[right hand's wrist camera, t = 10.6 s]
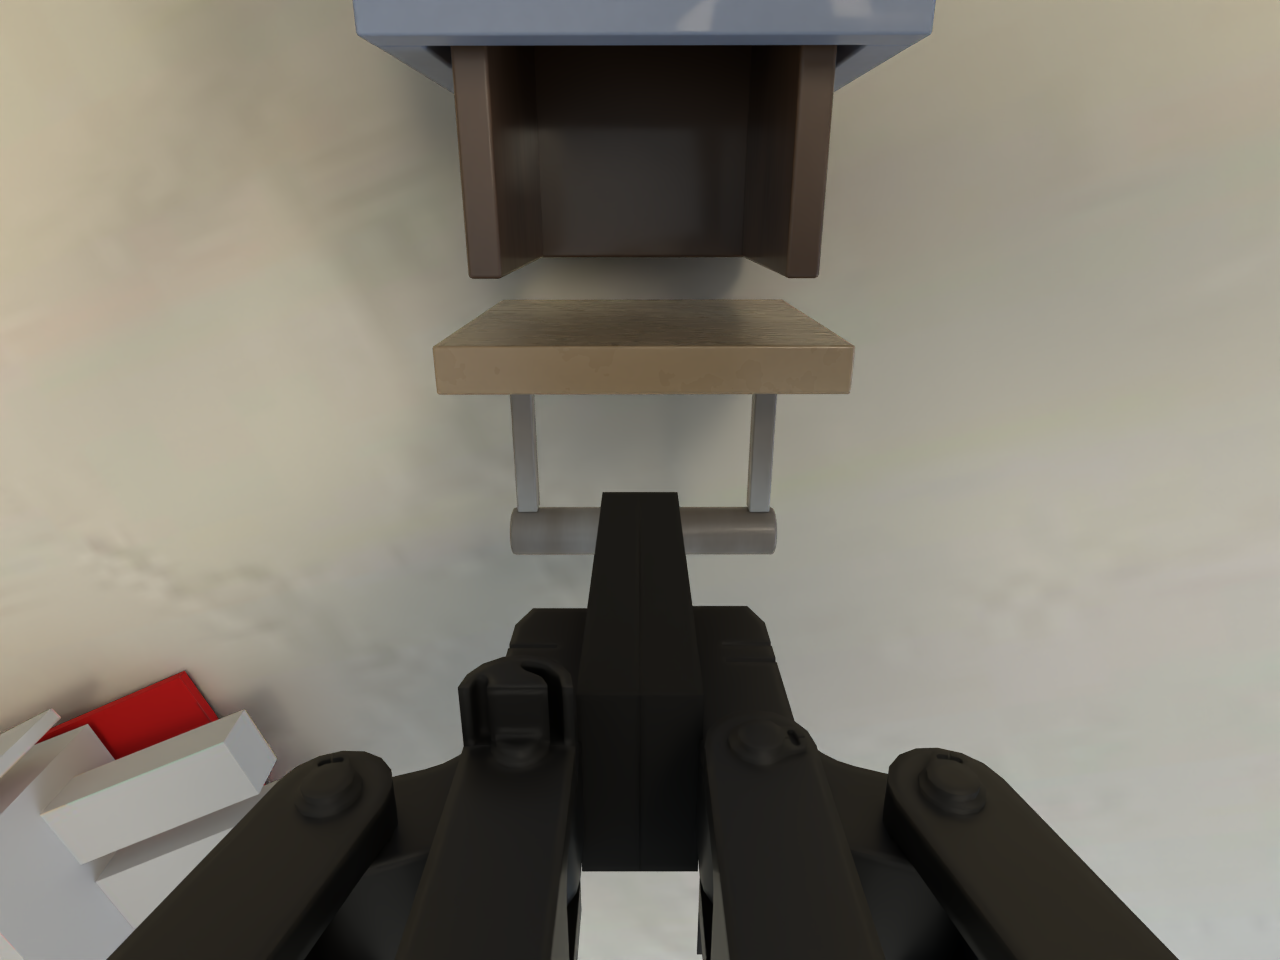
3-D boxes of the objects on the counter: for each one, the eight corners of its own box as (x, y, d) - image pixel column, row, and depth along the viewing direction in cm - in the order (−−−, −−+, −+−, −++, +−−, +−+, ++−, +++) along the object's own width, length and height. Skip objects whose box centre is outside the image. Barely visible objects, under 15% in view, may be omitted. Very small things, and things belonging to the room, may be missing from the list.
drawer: (771, 474, 29) (831, 593, 20) (513, 474, 29) (456, 593, 20) (823, -327, 21) (964, -737, 12) (461, -326, 21) (323, -736, 12)
